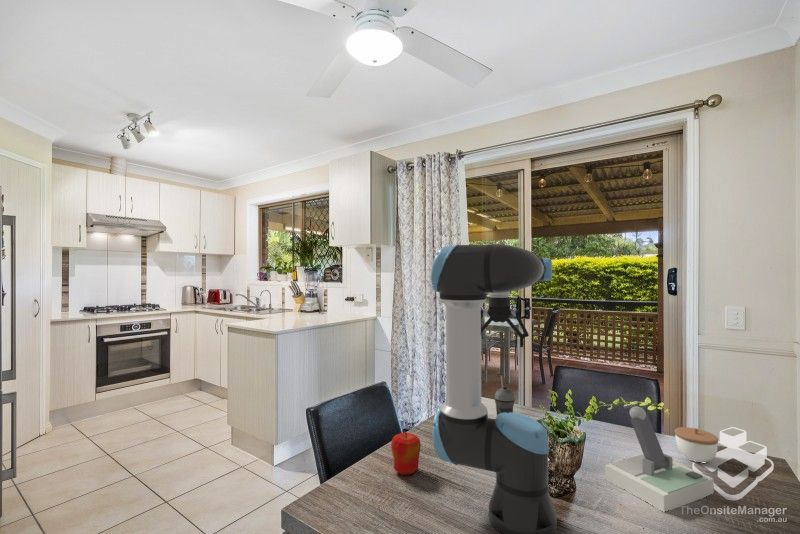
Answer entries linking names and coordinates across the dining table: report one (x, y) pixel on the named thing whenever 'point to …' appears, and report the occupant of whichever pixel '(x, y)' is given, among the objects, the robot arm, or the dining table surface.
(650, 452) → the toggle lever
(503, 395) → the beverage cup
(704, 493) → the switch box
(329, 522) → the dining table surface
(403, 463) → the apple
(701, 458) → the lidded jar
